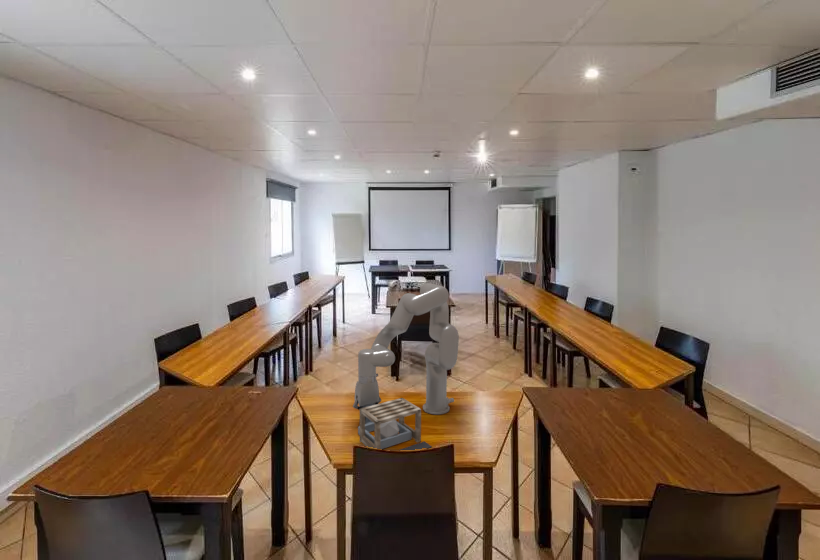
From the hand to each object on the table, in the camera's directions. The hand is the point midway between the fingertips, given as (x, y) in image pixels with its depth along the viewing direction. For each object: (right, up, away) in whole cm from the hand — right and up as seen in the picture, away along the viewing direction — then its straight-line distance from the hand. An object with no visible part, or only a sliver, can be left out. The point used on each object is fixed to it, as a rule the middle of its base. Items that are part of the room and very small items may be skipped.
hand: (367, 418), depth 184 cm
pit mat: (+21, -5, -21) cm, 30 cm away
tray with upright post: (+6, -3, -8) cm, 11 cm away
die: (+10, -4, -14) cm, 17 cm away
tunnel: (+11, -4, -15) cm, 19 cm away
